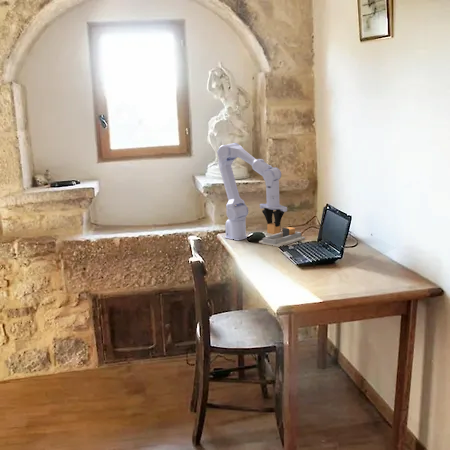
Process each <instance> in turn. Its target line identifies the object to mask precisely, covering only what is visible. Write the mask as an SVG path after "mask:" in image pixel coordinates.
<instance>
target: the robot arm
mask: <svg viewBox="0 0 450 450" xmlns="http://www.w3.org/2000/svg"><path fill="white" fill-rule="evenodd" d="M216 153H217V156H218V167H219V171H220V174H221V178H222V182H223V185H224V189H225V193H226V197H227V200H228V201H227V203H226V205H225V208H226V217H227V218H228V219H227V220H226V221H225V236H224V238H225V239H228V240H229V239H230V240H233V239H234V240H233V241H242V240H245V239H248V238H247V236H248V235H247V227H246V225H247V224H246V219H247V216H248V214H249V207H248V206H247V205H246V202H245V200H244V199H242V198H241V196H240V192H239V190H238V187H237V185H238V184H237V182H236V177H235V175H234V171H233V167H232V164H233V163H234V160H236V159H237V158H239V159H241V160H242V161H244V162H245V163H247V164H249V165H250V166H251V169H252V170H253V171H255V172H256V173H257V174H258V175H260V176H262V179H263V180H264V182H265V192H266V198H265V199H266V203H259V209H262V211H261V212H262V213H263V215H264V218H265V220H266V225H267V224H270V223H273V217H274V222H275V226H276V227H278V226H280V227H281V221H282V219H283V218H282V217H283V216H284V214H285V213H286V212H288V207H287V206H284V205H282V204H281V203H280V179H281V178H282V171H281V170H280V169H279V167H276V166H275V167H273V166H272V165H271V164H268V163H267V162H266V161H265V159H263V158H255V157H254V156H253V155H251V153H249V152H248V151H247V150H246V149H244V148H243V146H242V145H240V144H239V143H238V142H233V143H228V144H221V145H219V148H218V149H217V151H216Z"/></svg>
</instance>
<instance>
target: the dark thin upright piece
mask: <svg viewBox="0 0 450 450" xmlns="http://www.w3.org/2000/svg"><path fill="white" fill-rule="evenodd" d="M326 207H327V206H323V208H322V213H321V219H320V225H319V231H318V235H317V243H318V242H319V241H321V240H322V234H321V225H322V221H323V217H324V212H325V209H326Z"/></svg>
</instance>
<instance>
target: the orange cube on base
mask: <svg viewBox="0 0 450 450" xmlns="http://www.w3.org/2000/svg"><path fill="white" fill-rule="evenodd" d="M266 225H267V227H266V229H267V233H268V234H271V235H274V234H278V233H281V225H280V226H278V227H276V226H275V221H273V222H272V223H270V224H267V223H266Z"/></svg>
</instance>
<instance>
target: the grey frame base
mask: <svg viewBox="0 0 450 450" xmlns="http://www.w3.org/2000/svg"><path fill="white" fill-rule="evenodd" d="M305 239H306V237H305V236H302V232H300V231H296V228H295V227H289V226H287V227H282V232H281V231H280V233H277V234H271V235H267V236H264V237H262V239H261V240H259V241H258V243H259V244H263V245H268V246H272V245H273V247H277V248H280V246H281V247H284V246H286V245H289V244H293V243H297V242H299V241H302V240H305ZM283 245H284V246H283Z"/></svg>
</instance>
